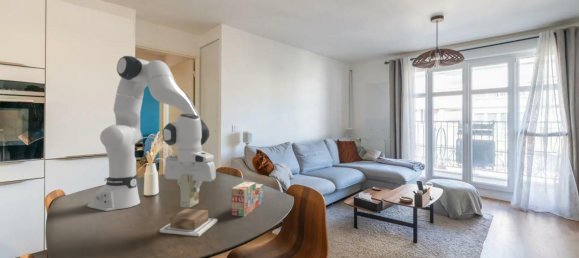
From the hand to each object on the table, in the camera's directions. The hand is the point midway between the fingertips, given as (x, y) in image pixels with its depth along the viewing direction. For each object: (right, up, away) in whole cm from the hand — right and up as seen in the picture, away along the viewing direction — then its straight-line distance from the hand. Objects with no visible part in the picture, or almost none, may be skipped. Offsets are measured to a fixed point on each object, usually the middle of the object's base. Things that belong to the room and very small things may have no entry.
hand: (189, 191), depth 100 cm
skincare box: (0, -6, 0) cm, 6 cm away
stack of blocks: (+19, -14, +22) cm, 32 cm away
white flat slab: (0, -14, 0) cm, 14 cm away
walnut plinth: (0, -14, 0) cm, 14 cm away
